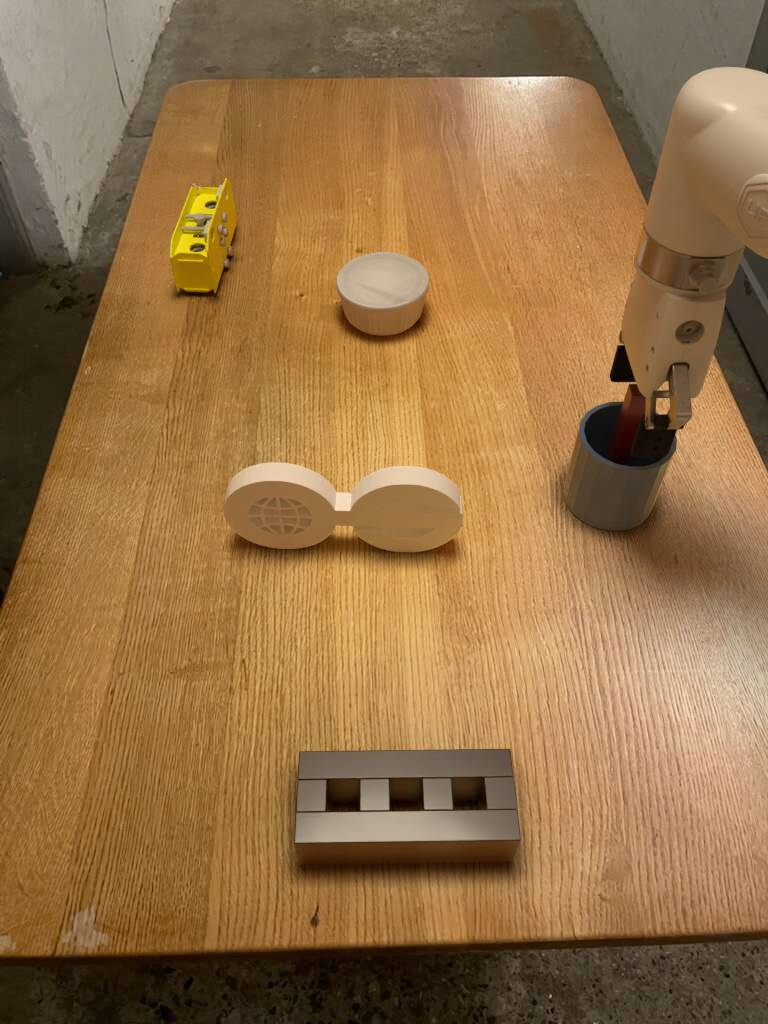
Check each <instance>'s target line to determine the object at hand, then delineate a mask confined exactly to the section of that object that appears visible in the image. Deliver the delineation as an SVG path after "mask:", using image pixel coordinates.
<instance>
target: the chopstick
mask: <svg viewBox="0 0 768 1024" xmlns="http://www.w3.org/2000/svg"><path fill="white" fill-rule="evenodd" d="M622 402H623V405H622V408H621V411H620V415H619V418H618V421H617V424H616V428H615V431H614V434H613V437H612V441H611V444H610V447H609V450H608V454H607V457H606V459H607V460H609V461H611V462H614V463H616V464H620V465H625V466H626V465H627V462H628V459H629V456H630V453H631V451H630V450H631V447H632V444H633V440H634V437H635V434H636V431H637V428H638V425H639V422H640V420H642V418H643V415H644V412H645V404H646V397H645V396H643V395H642V394H641V392H640V391H639V389H638V386H637V384H636V383H629V384H628V386H627V389H626V392H625V396H624V398H623V401H622Z"/></svg>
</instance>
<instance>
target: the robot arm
mask: <svg viewBox="0 0 768 1024" xmlns="http://www.w3.org/2000/svg"><path fill="white" fill-rule="evenodd" d="M642 223H643V224H642V228H641V231H640V235H639V239H638V243H637V246H636V251H635V254H634V258H633V266H634V269H635V273H634V276H633V279H632V281H631V283H630V287H629V292H628V295H627V298H626V302H625V305H624V309H623V315H622V319H621V330H620V331H619V335H618V342H619V344H618V345H617V346H616V349H615V352H614V353H615V354H614V357H613V361H612V365H611V369H610V372H609V380H610V381H611V382H612V383H635V384H637V386H638V389H639V391H640V392H641V394H642V395H643V396H645V397H646V404H645V419H643V420H640V422H639V425H638V428H637V431H636V434H635V437H634V440H633V444H632V447H631V450H630V451H631V455H632V456H633V457H664V456H666V455H668V453H669V450H670V448H671V445H672V442H673V440H674V437H675V435H677V431H678V430H683V429H684V428H685V426H686V425H687V424H688V423H689V421H691V420H692V417H693V407H692V399H696V398H697V397H698V396H699V395H700V393H701V391H702V389H703V386H704V384H705V381H706V378H707V375H708V371H709V369H710V365H711V362H712V359H713V356H714V352H715V349H716V346H717V343H718V340H719V339H718V338H719V336H720V335H719V334H720V331H721V327H722V322H723V319H724V312H725V306H726V302H727V301H726V300H727V291H726V290H727V288H728V287H729V286H731V284H732V283H733V281H734V279H735V276H736V273H737V271H738V268H739V265H740V262H741V260H742V257H743V254H744V251H745V249H746V247H747V248H748V249H749V250H751V251H752V252H753V253H755V254H756V255H758V256H761V257H762V258H764V259H767V260H768V73H766V72H764V71H760V70H756V69H753V68H747V67H739V66H719V67H712V68H708V69H705V70H702V71H700V72H698V73H696V74H694V75H692V76H691V77H690V78H689V79H688V80H687V81H685V83H684V84H683V85H682V87H681V88H680V90H679V92H678V94H677V96H676V99H675V102H674V105H673V108H672V112H671V116H670V120H669V123H668V127H667V131H666V135H665V138H664V143H663V147H662V149H661V154H660V158H659V162H658V166H657V169H656V173H655V177H654V180H653V185H652V189H651V192H650V195H649V200H648V204H647V208H646V211H645V216H644V219H643V222H642ZM665 382H667V385H668V389H660V388H661V387H662V386H663V385H664V384H665ZM657 399H669V409H668V410H667V413H664V414H663V413H662V414H661V413H659V414H660V415H656V412H657Z"/></svg>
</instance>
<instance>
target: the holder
mask: <svg viewBox="0 0 768 1024" xmlns="http://www.w3.org/2000/svg"><path fill="white" fill-rule="evenodd" d="M512 759H513V758H512V750H511V749H510V748H465V749H464V748H461V749H459V748H457V749H456V748H455V749H454V748H453V749H451V748H450V749H449V748H448V749H382V750H381V749H379V750H378V749H375V750H373V749H371V750H370V749H369V750H304V751H303V750H302V751H300V750H299V751H298V761H297V762H298V763H297V766H298V767H297V781H296V798H295V799H296V800H295V802H296V803H295V821H294V836H293V837H294V838H293V844H294V848H295V852H296V856H297V859H298V864H299V865H303V866H306V865H369V864H370V865H372V864H373V865H374V864H375V865H377V864H379V865H380V864H441V863H442V864H448V863H451V864H453V863H504V862H505V863H512V862H513V861H514V858H515V856H516V853H517V851H518V848H519V846H520V844H521V841H522V837H521V827H520V818H519V811H518V802H517V791H516V784H515V777H514V768H513V767H514V766H513V760H512ZM418 802H419V810H391V803H418ZM454 802H477V803H478V809H455V806H454ZM349 803H350V804H353V803H355V804H356V803H359V811H331V804H349Z"/></svg>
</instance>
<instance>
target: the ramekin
mask: <svg viewBox="0 0 768 1024" xmlns="http://www.w3.org/2000/svg"><path fill="white" fill-rule="evenodd" d="M335 286H336V287H335V288H336V292H337V295H338V297H339V299H340V302H341V307H342V309H343V313H344V316H345V318H346V320H347V321H348V322H349V324H350V325H352V326H353V327H354V328H355V329H357V330H358V331H360V332H362V333H363V334H368V335H372V336H377V337H378V336H379V337H386V336H387V337H388V336H394V335H398V334H401V333H403V332H406V331H407V330H409V329H411V327H413V326H414V325H415V324H416V323H417V322H418V321H419V319H420V317H421V315H422V313H423V309H424V305H425V300H426V296H427V294H428V292H429V288H430V276H429V272H428V271H427V269H426V267H425V266H424V265H423V264H422V263H420V261H418V260H416V259H414V258H413V257H410V256H409V255H405V254H403V253H397V252H392V251H376V252H375V251H374V252H371V253H365V254H362V255H358V256H357V257H354V258H353V259H351V260H350V261H348V262H347V263H345V264H344V265H343V266H342V267H341V268H340V270H339V271H338V272H337V275H336V279H335Z"/></svg>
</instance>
